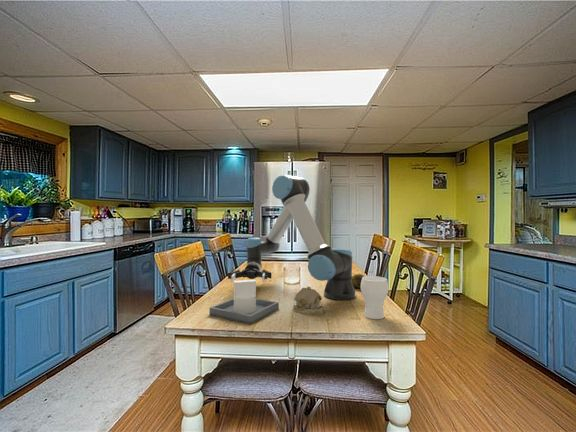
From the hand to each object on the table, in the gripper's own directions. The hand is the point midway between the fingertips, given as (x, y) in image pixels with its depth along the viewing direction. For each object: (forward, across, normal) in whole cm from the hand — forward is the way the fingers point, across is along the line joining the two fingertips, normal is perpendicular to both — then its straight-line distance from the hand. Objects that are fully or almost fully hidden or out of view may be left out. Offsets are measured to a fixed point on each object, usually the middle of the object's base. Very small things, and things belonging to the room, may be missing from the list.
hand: (247, 279), depth 139 cm
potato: (-31, -55, -12) cm, 65 cm away
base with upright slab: (+10, 0, -11) cm, 15 cm away
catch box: (+10, 0, -12) cm, 15 cm away
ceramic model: (+7, -26, -12) cm, 30 cm away
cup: (+14, -52, -12) cm, 55 cm away
